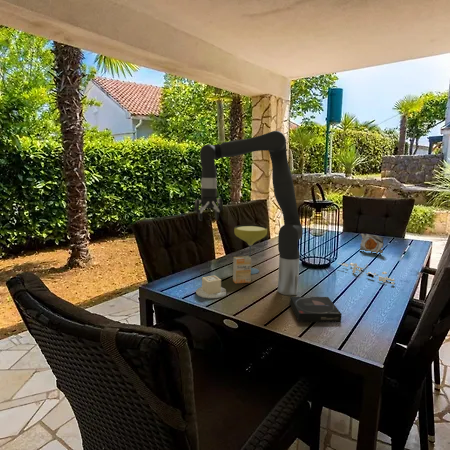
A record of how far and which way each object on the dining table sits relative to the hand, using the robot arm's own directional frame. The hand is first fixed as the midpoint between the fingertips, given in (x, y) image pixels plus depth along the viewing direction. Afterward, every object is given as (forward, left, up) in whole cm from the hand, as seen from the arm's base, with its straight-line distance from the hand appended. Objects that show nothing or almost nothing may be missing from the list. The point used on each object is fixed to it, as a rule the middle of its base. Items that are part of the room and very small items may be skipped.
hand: (208, 220), depth 167 cm
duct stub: (-6, +13, -32) cm, 35 cm away
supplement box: (-16, -6, -32) cm, 37 cm away
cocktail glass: (-16, -24, -32) cm, 43 cm away
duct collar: (-6, +13, -31) cm, 34 cm away
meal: (-86, -88, -32) cm, 127 cm away
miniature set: (-80, -40, -33) cm, 95 cm away
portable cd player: (-53, +19, -33) cm, 65 cm away
